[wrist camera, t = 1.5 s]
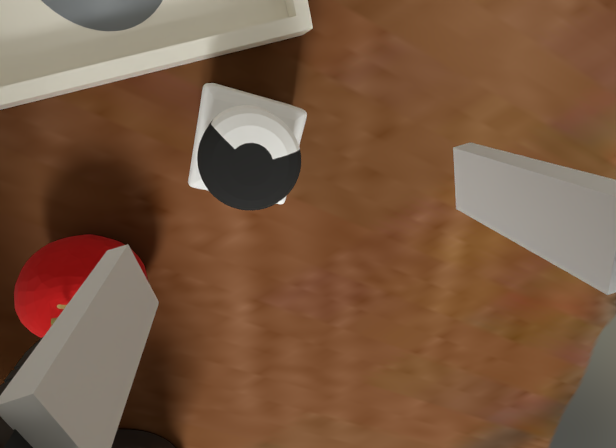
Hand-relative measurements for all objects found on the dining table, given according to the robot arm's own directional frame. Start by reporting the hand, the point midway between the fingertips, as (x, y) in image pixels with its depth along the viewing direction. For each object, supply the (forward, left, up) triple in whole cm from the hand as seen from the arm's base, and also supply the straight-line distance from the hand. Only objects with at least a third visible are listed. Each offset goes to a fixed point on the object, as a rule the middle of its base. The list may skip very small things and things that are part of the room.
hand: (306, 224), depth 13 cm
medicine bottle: (-1, +1, -19) cm, 19 cm away
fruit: (-17, -7, -19) cm, 27 cm away
